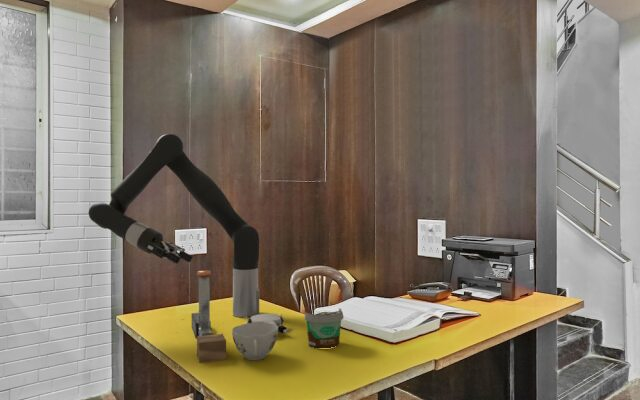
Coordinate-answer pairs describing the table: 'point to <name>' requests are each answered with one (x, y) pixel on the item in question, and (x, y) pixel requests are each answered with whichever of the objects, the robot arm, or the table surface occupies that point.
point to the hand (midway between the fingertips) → (185, 260)
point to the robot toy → (269, 320)
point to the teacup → (255, 339)
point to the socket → (211, 348)
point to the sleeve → (196, 321)
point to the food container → (324, 329)
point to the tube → (204, 303)
